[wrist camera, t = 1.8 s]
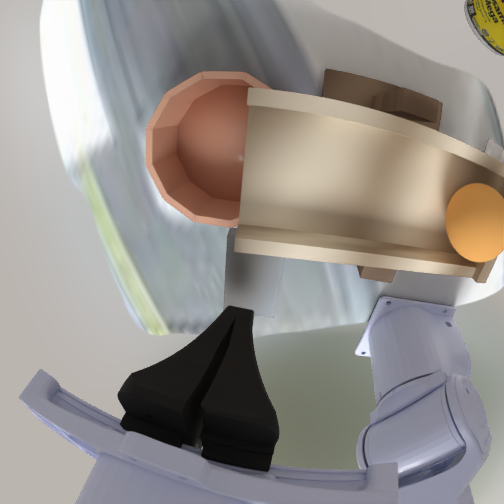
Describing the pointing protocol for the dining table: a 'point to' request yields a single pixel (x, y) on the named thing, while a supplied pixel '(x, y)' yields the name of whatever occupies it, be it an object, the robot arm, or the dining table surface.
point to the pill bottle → (487, 22)
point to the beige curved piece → (345, 194)
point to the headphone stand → (494, 150)
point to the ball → (476, 222)
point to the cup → (202, 145)
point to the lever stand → (389, 102)
